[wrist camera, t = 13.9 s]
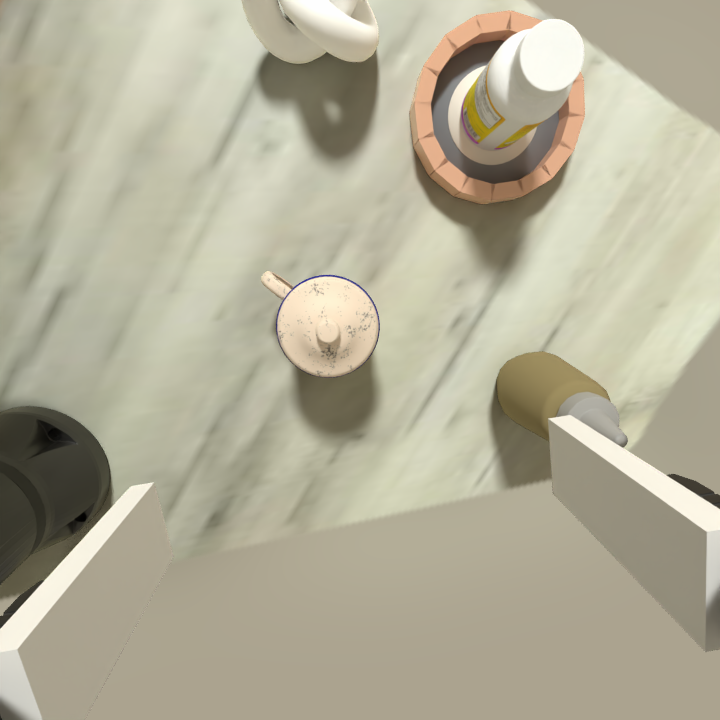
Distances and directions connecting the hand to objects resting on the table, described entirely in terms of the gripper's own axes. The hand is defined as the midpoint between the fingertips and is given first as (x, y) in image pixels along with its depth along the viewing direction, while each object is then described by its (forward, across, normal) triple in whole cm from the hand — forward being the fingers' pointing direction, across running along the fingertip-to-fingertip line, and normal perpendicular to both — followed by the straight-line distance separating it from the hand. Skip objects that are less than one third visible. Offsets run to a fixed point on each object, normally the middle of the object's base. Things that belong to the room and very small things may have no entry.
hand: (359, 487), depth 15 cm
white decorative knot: (+35, -3, -29) cm, 46 cm away
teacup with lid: (+35, +2, -3) cm, 35 cm away
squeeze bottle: (+35, -19, +8) cm, 41 cm away
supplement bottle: (+34, -18, -19) cm, 43 cm away
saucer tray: (+35, -18, -19) cm, 43 cm away
